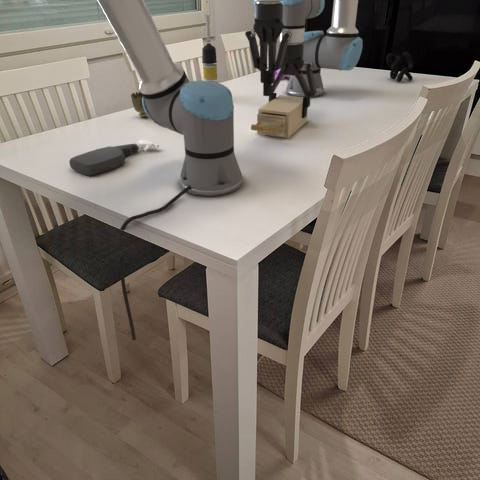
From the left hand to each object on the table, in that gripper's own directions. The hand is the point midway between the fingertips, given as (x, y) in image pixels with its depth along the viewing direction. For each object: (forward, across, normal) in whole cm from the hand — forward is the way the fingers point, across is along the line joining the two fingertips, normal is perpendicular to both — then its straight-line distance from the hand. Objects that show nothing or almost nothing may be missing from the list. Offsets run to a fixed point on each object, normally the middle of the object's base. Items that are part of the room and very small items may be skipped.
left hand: (267, 94), depth 128 cm
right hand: (+11, 0, -19) cm, 22 cm away
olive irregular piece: (+14, +50, -6) cm, 52 cm away
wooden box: (+14, 0, -14) cm, 20 cm away
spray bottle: (+14, +32, +30) cm, 47 cm away
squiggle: (+14, -24, -97) cm, 101 cm away
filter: (+14, +40, -37) cm, 56 cm away
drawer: (+13, 0, -8) cm, 15 cm away
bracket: (+14, +27, -84) cm, 90 cm away
